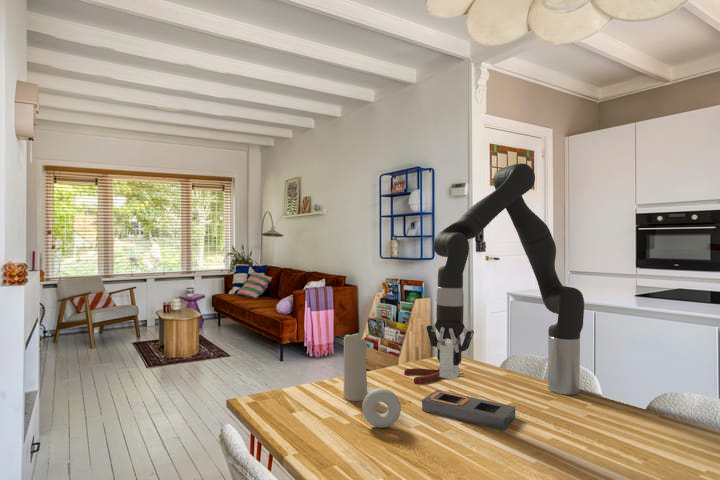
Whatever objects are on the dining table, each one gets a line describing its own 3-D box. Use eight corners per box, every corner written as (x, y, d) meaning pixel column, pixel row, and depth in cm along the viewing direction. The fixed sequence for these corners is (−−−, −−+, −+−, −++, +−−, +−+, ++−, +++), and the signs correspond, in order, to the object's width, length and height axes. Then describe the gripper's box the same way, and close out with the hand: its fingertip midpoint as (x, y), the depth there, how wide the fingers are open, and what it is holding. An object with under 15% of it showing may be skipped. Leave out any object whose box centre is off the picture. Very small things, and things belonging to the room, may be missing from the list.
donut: (400, 425, 116) (401, 386, 116) (401, 430, 113) (401, 391, 113) (362, 423, 117) (362, 385, 117) (361, 429, 114) (361, 390, 114)
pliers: (470, 380, 153) (470, 373, 153) (415, 385, 148) (415, 377, 148) (454, 371, 164) (454, 364, 164) (403, 375, 159) (403, 368, 159)
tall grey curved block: (382, 389, 143) (382, 327, 143) (358, 403, 131) (359, 335, 131) (363, 385, 147) (363, 324, 147) (338, 398, 135) (339, 332, 135)
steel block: (445, 373, 130) (445, 342, 129) (458, 376, 127) (458, 344, 127) (439, 376, 126) (439, 345, 126) (452, 379, 124) (453, 347, 124)
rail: (437, 399, 134) (437, 389, 134) (515, 417, 121) (515, 406, 121) (422, 410, 126) (422, 399, 126) (504, 430, 113) (504, 418, 113)
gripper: (479, 303, 126) (478, 364, 126) (432, 299, 134) (432, 356, 134) (469, 307, 119) (468, 371, 120) (421, 302, 128) (420, 362, 128)
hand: (449, 363), depth 127 cm, fingers closed on steel block, 4 cm apart
